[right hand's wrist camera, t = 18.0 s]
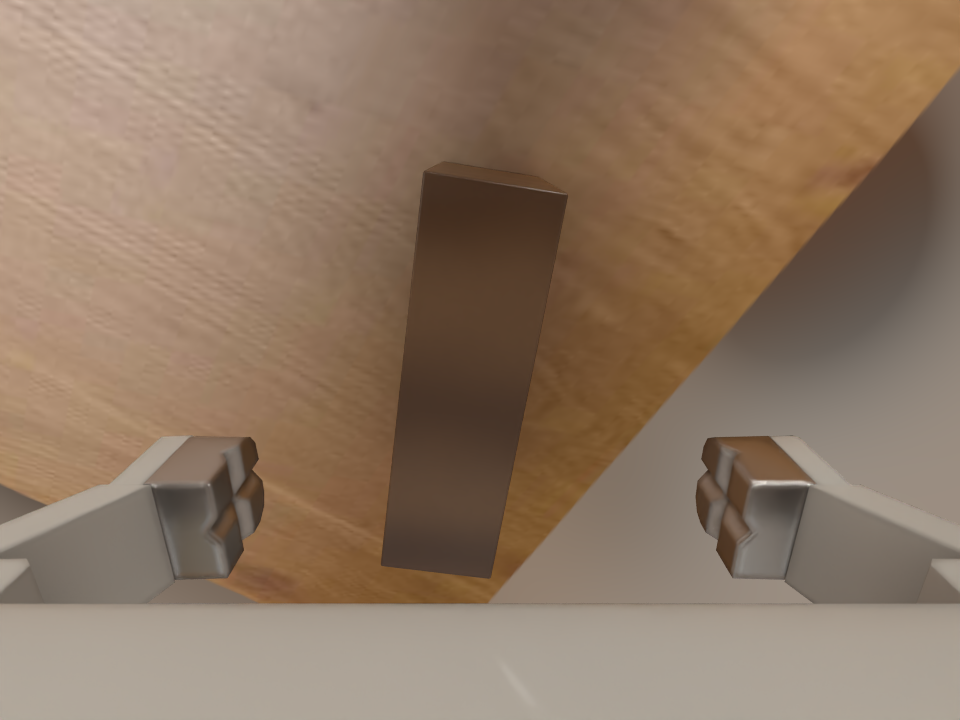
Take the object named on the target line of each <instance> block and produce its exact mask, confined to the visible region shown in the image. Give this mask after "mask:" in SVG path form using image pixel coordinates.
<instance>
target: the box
mask: <svg viewBox="0 0 960 720" xmlns="http://www.w3.org/2000/svg"><path fill="white" fill-rule="evenodd" d="M567 198H568V194H567V193H565V192H563V191H562V190H560V189H558V188H556V187H555V186H553V185H551V184H550V183H548V182H546V181H544V180H543V179H541V178H539V177H536V176H530V175H524V174H517V173H511V172H505V171H499V170H493V169H486V168H480V167H474V166H468V165H461V164H455V163H449V162H441V163H439V164H437V165H435V166H433V167H431V168H429V169H428V170H426V171H424V173H423V180H422V189H421V199H420V208H419V217H418V226H417V236H416V245H415V254H414V263H413V272H412V282H411V291H410V300H409V309H408V319H407V328H406V337H405V346H404V355H403V365H402V374H401V383H400V392H399V402H398V411H397V420H396V429H395V439H394V448H393V457H392V466H391V475H390V485H389V494H388V503H387V512H386V522H385V531H384V540H383V549H382V558H381V566H387V567H395V568H404V569H412V570H421V571H429V572H437V573H446V574H454V575H463V576H471V577H480V578H488V579H490V578H491V574H492V569H493V564H494V559H495V554H496V549H497V544H498V539H499V534H500V529H501V524H502V519H503V514H504V509H505V505H506V500H507V495H508V490H509V485H510V480H511V475H512V470H513V465H514V460H515V455H516V450H517V445H518V440H519V435H520V430H521V425H522V420H523V416H524V411H525V406H526V401H527V396H528V391H529V386H530V381H531V376H532V371H533V366H534V361H535V356H536V351H537V346H538V341H539V336H540V331H541V326H542V322H543V317H544V312H545V307H546V302H547V297H548V292H549V287H550V282H551V277H552V272H553V267H554V262H555V257H556V252H557V247H558V242H559V237H560V233H561V228H562V223H563V218H564V213H565V208H566V203H567Z"/></svg>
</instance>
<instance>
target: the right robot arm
mask: <svg viewBox="0 0 960 720" xmlns="http://www.w3.org/2000/svg"><path fill="white" fill-rule="evenodd" d="M258 459H259V458H258V454H257V449H256V444H255V442H254V441H253V440H252V439H251V438H250V437H217V436H195V437H194V436H166V437H161V438H160V439H158V440H157V441H156V442H155V443H154V444H153V445H152V446H151V447H150V448H149V449H147V450H146V451H145V452H144V453H143V454H142V455H141V456H140V457H139V458H138V459H136V460H135V461H134V462H133V463H132V464H131V465H130V466H129V467H128V468H127V469H125V470H124V471H123V472H122V473H121V474H120V475H119V476H118V477H117V478H115V479H114V480H113V481H112V482H111V483H110V484H109V485H97V486H95V487H92V488H90V489H88V490H85V491H83V492H80V493H78V494H75V495H73V496H70V497H68V498H65V499H63V500H60V501H58V502H55V503H53V504H51V505H48V506H46V507H43V508H41V509H38V510H36V511H33V512H31V513H28V514H26V515H23V516H21V517H18V518H16V519H13V520H11V521H9V522H6V523H4V524H1V525H0V720H960V525H959V524H956V523H954V522H951V521H949V520H946V519H944V518H941V517H939V516H936V515H934V514H931V513H929V512H927V511H924V510H922V509H919V508H917V507H914V506H912V505H909V504H907V503H904V502H902V501H900V500H897V499H895V498H892V497H890V496H887V495H885V494H882V493H880V492H877V491H875V490H872V489H870V488H867V487H865V486H863V485H851V484H850V483H849V482H848V481H847V480H846V479H845V478H843V477H842V476H841V475H840V474H839V473H838V472H837V471H836V470H835V469H834V468H832V467H831V466H830V465H829V464H828V463H827V462H826V461H825V460H824V459H823V458H821V457H820V456H819V455H818V454H817V453H816V452H815V451H814V450H813V449H812V448H810V447H809V446H808V445H807V444H806V443H805V442H804V441H803V440H802V439H801V438H799V437H796V436H792V435H790V436H750V437H714V438H708V439H707V441H706V443H705V445H704V448H703V453H702V458H701V459H702V461H703V462H704V464H705V466H706V467H707V469H708V470H707V472H706V473H705V474H704V475H703V476H702V477H701V478H700V479H699V480H698V482H697V490H696V506H697V513H698V516H699V519H700V523H701V524H702V526H703V528H704V530H705V532H706V533H707V534H709V535H711V536H712V537H714V538H715V539H717V540H718V543H717V548H716V551H717V552H718V554H719V556H720V558H721V559H722V561H723V563H724V564H725V566H726V568H727V569H728V571H729V573H730V574H731V576H732V578H744V579H780V580H785V582H786V583H787V584H788V585H790V586H791V587H792V588H794V589H795V590H796V591H798V592H799V593H800V594H802V595H803V596H804V597H806V598H807V599H808V600H810V601H811V602H812V603H814V604H147V603H148V602H149V601H151V600H152V599H153V598H155V597H156V596H157V595H158V594H160V593H161V592H163V591H164V590H165V589H167V588H168V587H169V586H171V585H172V584H173V583H175V580H180V579H216V578H228V576H229V575H230V573H231V571H232V569H233V568H234V566H235V564H236V563H237V561H238V559H239V558H240V556H241V554H242V552H243V551H244V548H243V543H242V540H243V539H245V538H246V537H248V536H249V535H251V534H253V533H254V532H255V530H256V528H257V526H258V524H259V523H260V520H261V516H262V512H263V508H264V489H263V482H262V480H261V479H260V478H259V477H258V476H257V475H256V474H255V473H254V471H253V470H252V469H253V467H254V466H255V464H256V462H257V461H258Z"/></svg>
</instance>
